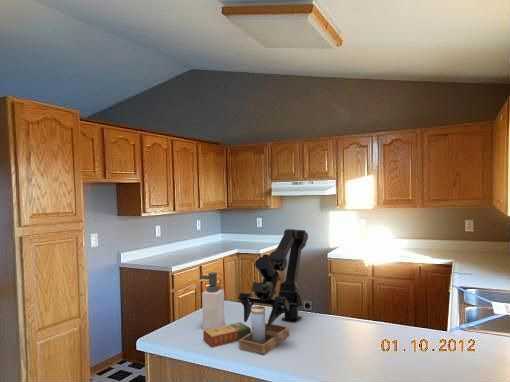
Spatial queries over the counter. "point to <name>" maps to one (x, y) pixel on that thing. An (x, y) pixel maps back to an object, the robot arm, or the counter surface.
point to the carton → (225, 334)
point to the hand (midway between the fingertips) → (256, 323)
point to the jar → (258, 324)
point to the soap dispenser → (213, 303)
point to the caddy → (272, 339)
